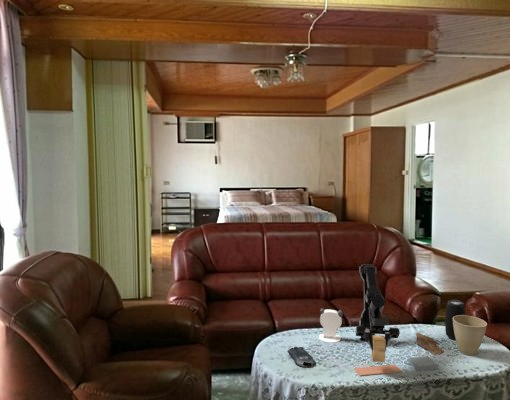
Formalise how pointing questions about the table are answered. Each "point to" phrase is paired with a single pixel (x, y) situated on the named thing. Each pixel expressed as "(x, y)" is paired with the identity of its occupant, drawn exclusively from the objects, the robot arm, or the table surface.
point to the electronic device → (300, 356)
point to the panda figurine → (330, 325)
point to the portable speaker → (452, 310)
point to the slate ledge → (423, 363)
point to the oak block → (378, 348)
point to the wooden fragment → (428, 344)
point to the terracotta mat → (377, 370)
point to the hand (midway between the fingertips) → (378, 350)
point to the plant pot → (469, 333)
